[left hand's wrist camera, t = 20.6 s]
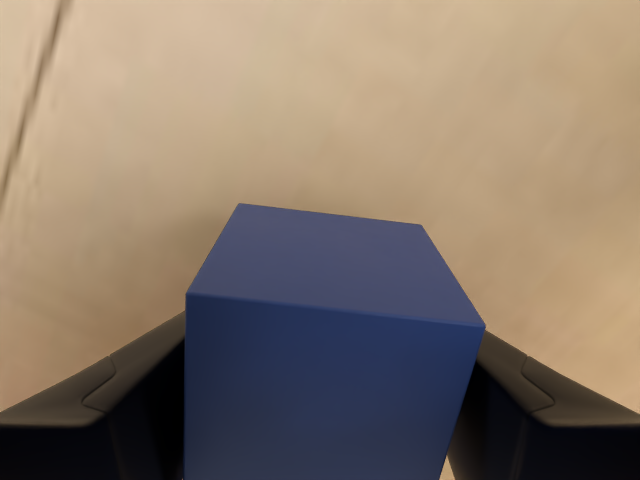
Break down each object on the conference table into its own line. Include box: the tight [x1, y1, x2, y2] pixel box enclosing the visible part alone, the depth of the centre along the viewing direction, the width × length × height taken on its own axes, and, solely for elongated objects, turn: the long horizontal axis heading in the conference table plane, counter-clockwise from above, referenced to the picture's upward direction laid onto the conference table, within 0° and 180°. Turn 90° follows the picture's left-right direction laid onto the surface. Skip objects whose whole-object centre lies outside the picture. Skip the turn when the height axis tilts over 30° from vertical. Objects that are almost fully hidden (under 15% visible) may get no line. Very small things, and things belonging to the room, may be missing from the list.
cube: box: [183, 203, 486, 480], centre depth 10 cm, size 5×5×5 cm
